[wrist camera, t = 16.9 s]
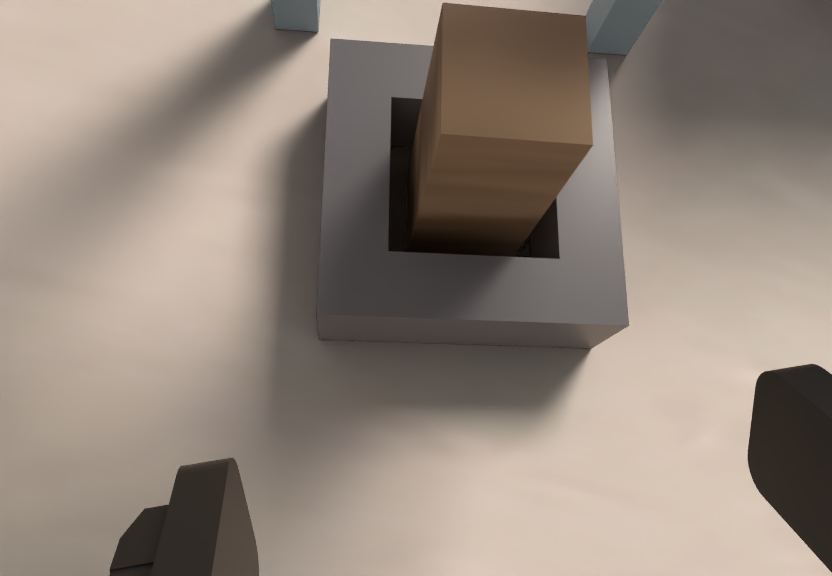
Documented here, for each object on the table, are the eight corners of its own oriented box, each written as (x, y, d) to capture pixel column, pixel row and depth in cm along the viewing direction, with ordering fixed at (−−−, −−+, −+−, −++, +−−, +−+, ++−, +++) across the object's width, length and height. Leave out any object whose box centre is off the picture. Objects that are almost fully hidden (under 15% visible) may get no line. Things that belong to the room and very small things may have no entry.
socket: (591, 348, 30) (629, 325, 26) (319, 339, 29) (316, 314, 25) (576, 109, 33) (606, 58, 30) (331, 93, 32) (330, 38, 28)
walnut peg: (505, 267, 31) (593, 145, 20) (404, 262, 30) (440, 133, 20) (504, 175, 32) (585, 16, 22) (407, 169, 32) (442, 2, 21)
